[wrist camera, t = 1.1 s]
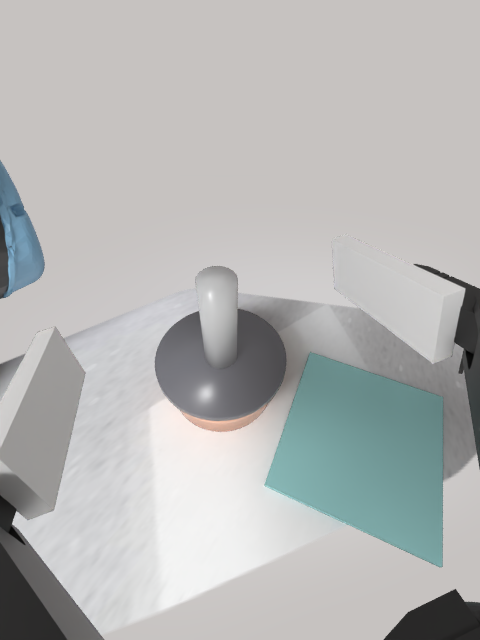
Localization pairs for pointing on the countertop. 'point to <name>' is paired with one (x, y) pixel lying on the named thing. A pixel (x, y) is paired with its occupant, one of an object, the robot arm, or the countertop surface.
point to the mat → (366, 455)
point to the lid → (220, 354)
